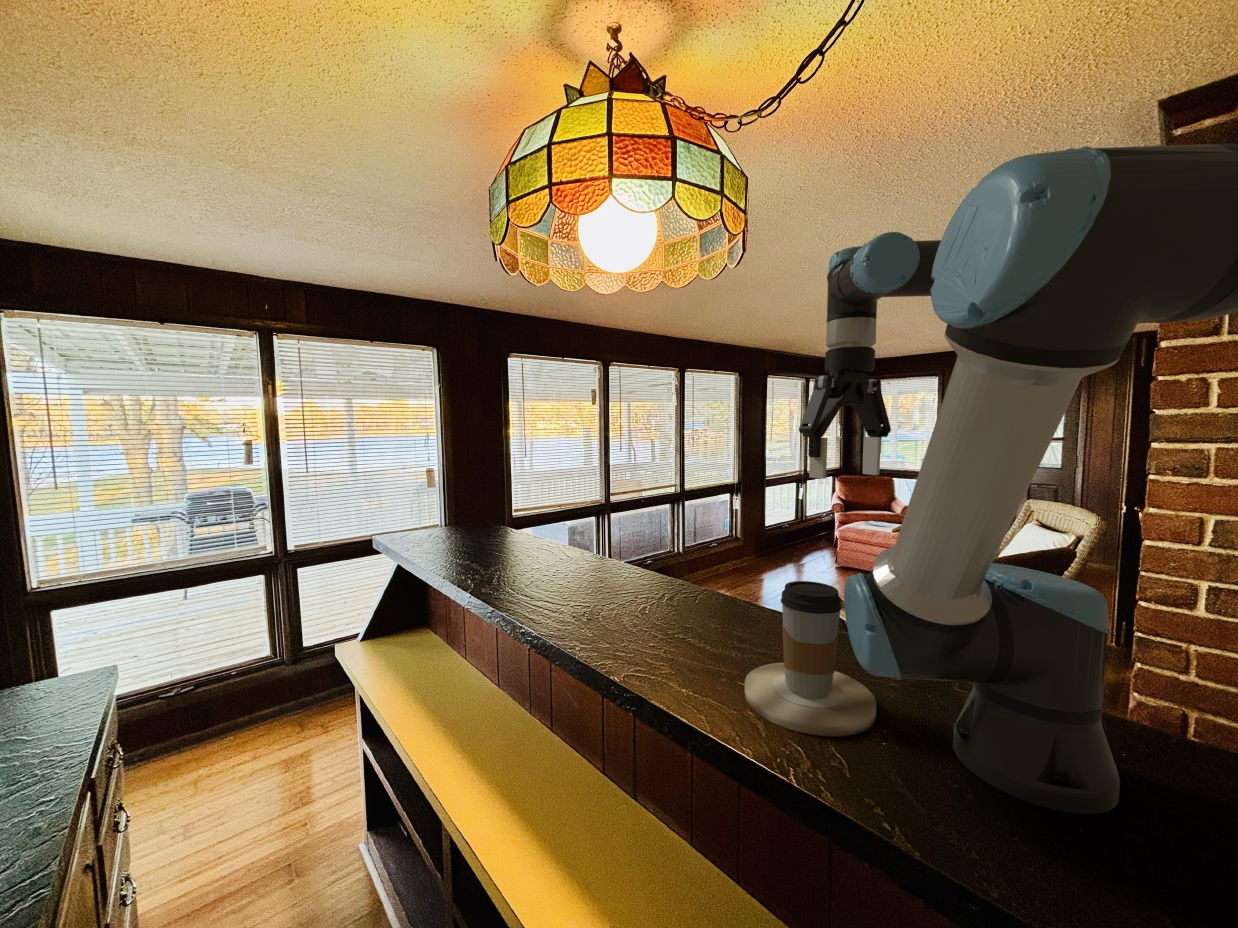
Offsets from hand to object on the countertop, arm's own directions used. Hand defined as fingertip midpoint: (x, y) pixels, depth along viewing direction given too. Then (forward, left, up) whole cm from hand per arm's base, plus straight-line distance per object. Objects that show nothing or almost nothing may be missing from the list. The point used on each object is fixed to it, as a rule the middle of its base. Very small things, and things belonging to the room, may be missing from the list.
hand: (845, 476), depth 87 cm
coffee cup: (-7, +15, -30) cm, 35 cm away
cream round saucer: (-7, +15, -32) cm, 36 cm away
